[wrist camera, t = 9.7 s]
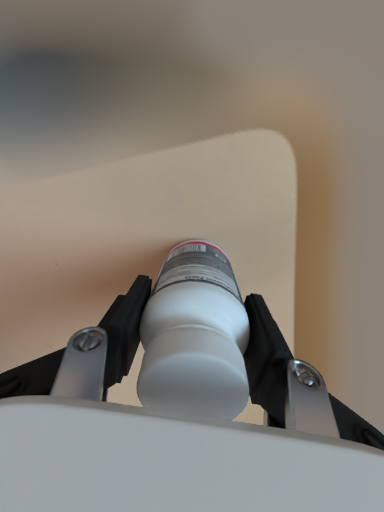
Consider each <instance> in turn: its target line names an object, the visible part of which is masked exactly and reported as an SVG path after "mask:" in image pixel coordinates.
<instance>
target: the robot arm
mask: <svg viewBox="0 0 384 512" xmlns="http://www.w3.org/2000/svg"><path fill="white" fill-rule="evenodd" d="M151 285H152V279H149V276H145V275H138V277H137V278H136V280H135V282H134V283H133V285H132V286H131V288H130V290H129V291H128V293H127V294H126V295H118V297H117V298H116V300H115V301H114V302H113V304H112V305H111V307H110V308H109V310H108V311H107V313H106V314H105V316H104V317H103V318H102V320H101V321H100V323H99V324H98V326H97V327H87V328H84V329H81V330H79V331H78V332H76V333H75V334H73V335H72V336H71V338H70V339H69V341H68V344H67V347H65V348H63V349H60V350H58V351H55V352H53V353H50V354H48V355H45V356H43V357H41V358H38V359H36V360H33V361H31V362H28V363H26V364H23V365H21V366H18V367H16V368H13V369H11V370H8V371H6V372H4V373H2V374H0V512H384V435H383V434H382V433H381V432H379V431H378V430H377V429H376V428H375V427H373V426H372V425H371V424H369V423H368V422H367V421H365V420H364V419H363V418H361V417H360V416H359V415H357V414H356V413H355V412H353V411H352V410H351V409H349V408H348V407H347V406H346V405H344V404H343V403H341V402H340V401H339V400H338V399H336V398H335V397H334V396H332V395H331V394H330V393H328V392H327V389H326V385H325V382H324V379H323V377H322V376H321V374H320V373H319V372H318V371H317V370H316V369H315V368H314V367H313V366H311V365H310V364H309V363H307V362H305V361H302V360H299V359H294V357H293V355H292V353H291V351H290V349H289V347H288V345H287V343H286V341H285V339H284V337H283V335H282V333H281V331H280V329H279V327H278V325H277V323H276V322H275V321H274V320H273V318H272V316H271V314H270V312H269V310H268V308H267V306H266V304H265V301H264V299H263V297H262V296H261V295H258V294H252V293H251V294H250V296H249V295H247V296H246V299H245V302H244V306H245V309H246V312H247V316H248V320H249V325H250V337H249V343H248V346H247V349H246V351H245V353H244V354H243V359H244V363H245V369H246V374H247V379H248V384H249V395H250V397H251V402H252V404H258V405H261V407H262V408H263V409H264V423H263V425H256V424H250V423H244V422H237V421H231V420H224V419H218V418H211V417H204V416H198V415H191V414H185V413H178V412H171V411H165V410H158V409H151V408H144V407H137V406H130V405H123V404H117V403H110V402H107V396H108V388H109V387H111V386H113V385H114V384H115V383H121V380H122V378H123V376H127V375H128V373H129V370H130V367H131V365H132V362H133V359H134V356H135V354H136V351H137V348H138V346H139V343H140V340H141V339H140V333H139V325H140V319H141V316H142V313H143V310H144V308H145V306H146V303H147V301H148V299H149V297H150V294H151Z"/></svg>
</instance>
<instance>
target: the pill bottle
mask: <svg viewBox="0 0 384 512" xmlns="http://www.w3.org/2000/svg"><path fill="white" fill-rule="evenodd" d="M139 333H140V339H141V343H142V345H143V348H144V350H145V353H144V356H143V360H142V365H141V369H140V373H139V376H138V381H137V394H138V398H139V400H140V402H141V404H142V405H143V407H144V408H151V409H158V410H165V411H171V412H178V413H185V414H191V415H198V416H204V417H211V418H218V419H224V420H232V419H233V418H235V417H236V416H238V415H239V414H240V413H241V412H242V411H243V410H244V408H245V407H246V405H247V402H248V398H249V384H248V379H247V374H246V369H245V363H244V359H243V354H244V353H245V351H246V349H247V346H248V343H249V337H250V325H249V320H248V316H247V312H246V309H245V306H244V303H243V301H242V298H241V295H240V292H239V289H238V286H237V283H236V280H235V276H234V273H233V271H232V267H231V265H230V262H229V260H228V257H227V256H226V254H225V253H224V252H223V250H222V249H220V248H219V247H218V246H217V245H215V244H213V243H211V242H208V241H205V240H199V239H195V240H188V241H185V242H182V243H180V244H178V245H177V246H175V247H174V248H173V249H172V250H171V251H170V252H169V254H168V255H167V257H166V259H165V261H164V264H163V266H162V268H161V270H160V273H159V275H158V278H157V280H156V282H155V285H154V288H153V290H152V292H151V294H150V297H149V299H148V301H147V303H146V306H145V308H144V310H143V313H142V316H141V319H140V325H139Z"/></svg>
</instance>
